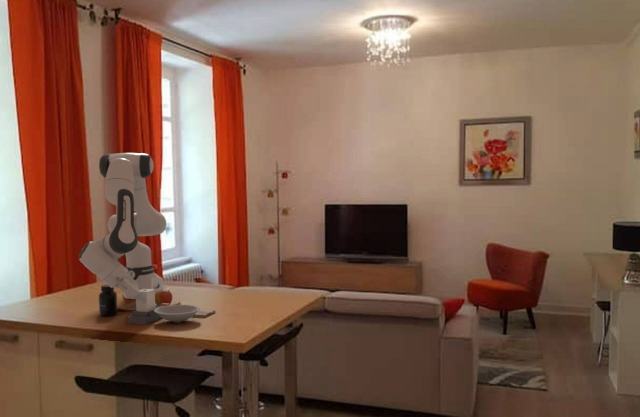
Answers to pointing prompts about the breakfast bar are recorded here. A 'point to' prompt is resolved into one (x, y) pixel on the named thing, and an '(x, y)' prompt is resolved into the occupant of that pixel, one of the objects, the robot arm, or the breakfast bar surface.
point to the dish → (176, 312)
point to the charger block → (150, 302)
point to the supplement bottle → (107, 301)
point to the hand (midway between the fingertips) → (145, 299)
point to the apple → (163, 297)
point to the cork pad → (203, 313)
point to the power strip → (145, 316)
